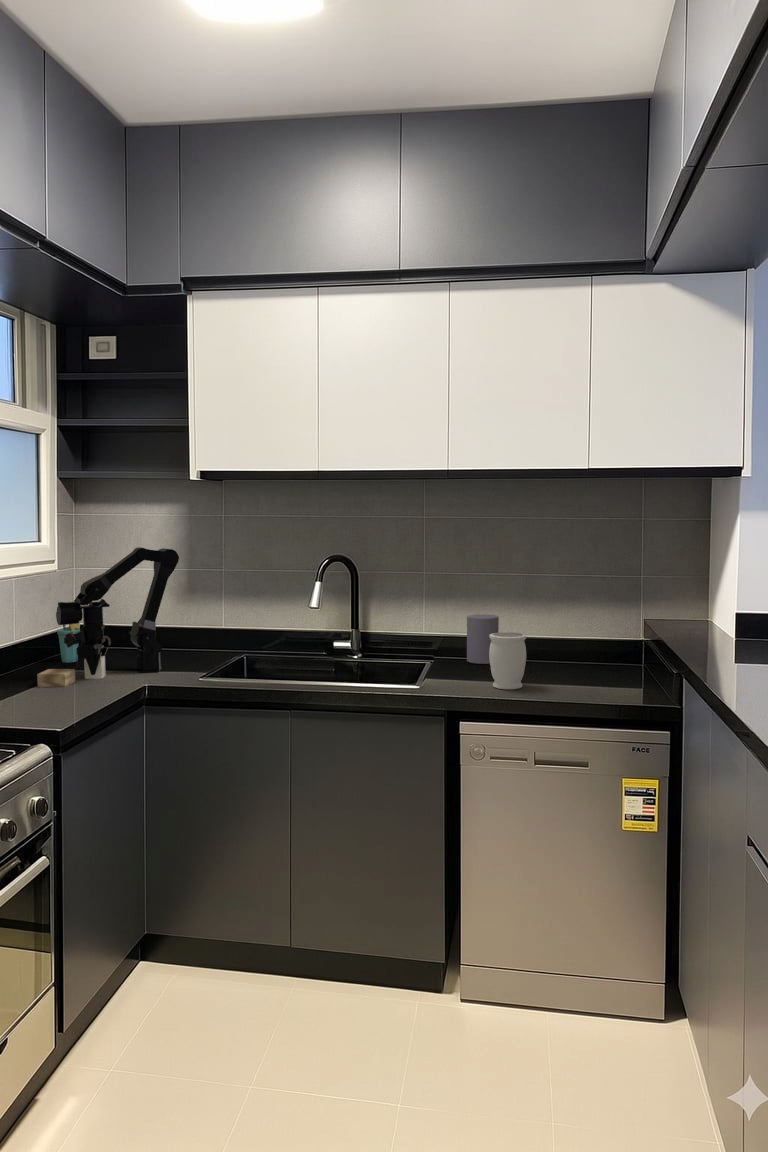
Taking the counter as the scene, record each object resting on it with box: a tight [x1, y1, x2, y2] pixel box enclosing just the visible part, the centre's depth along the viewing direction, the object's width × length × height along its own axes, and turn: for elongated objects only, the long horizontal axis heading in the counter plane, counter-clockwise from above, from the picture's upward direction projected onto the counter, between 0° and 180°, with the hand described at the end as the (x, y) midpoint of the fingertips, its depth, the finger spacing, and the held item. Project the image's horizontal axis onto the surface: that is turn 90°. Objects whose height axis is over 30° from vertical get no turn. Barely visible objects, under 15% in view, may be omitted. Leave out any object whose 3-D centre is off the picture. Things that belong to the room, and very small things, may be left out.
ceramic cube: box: [83, 655, 106, 680], centre depth 268 cm, size 5×5×6 cm
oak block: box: [36, 668, 76, 688], centre depth 258 cm, size 8×8×4 cm
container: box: [466, 613, 500, 666], centre depth 288 cm, size 10×10×15 cm
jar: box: [489, 631, 527, 690], centre depth 249 cm, size 11×10×15 cm
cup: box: [56, 621, 81, 664], centre depth 293 cm, size 14×8×15 cm, turn 177°
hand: (95, 673), depth 268 cm, fingers closed on ceramic cube, 5 cm apart
